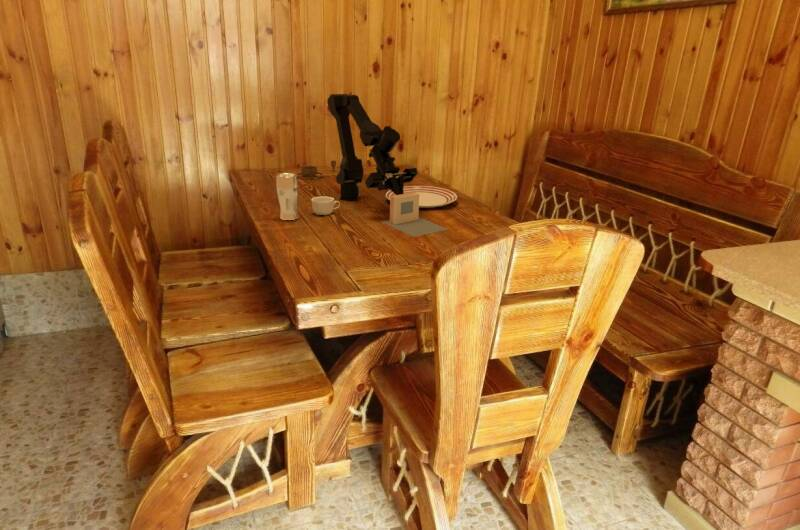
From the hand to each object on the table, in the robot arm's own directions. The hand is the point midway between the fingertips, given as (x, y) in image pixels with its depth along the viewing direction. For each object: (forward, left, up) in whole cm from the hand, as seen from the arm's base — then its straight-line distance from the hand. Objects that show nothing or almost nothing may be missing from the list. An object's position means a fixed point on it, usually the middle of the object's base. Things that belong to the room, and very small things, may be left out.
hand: (402, 198), depth 180 cm
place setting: (-44, +61, -9) cm, 76 cm away
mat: (+5, -6, -8) cm, 11 cm away
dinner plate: (+5, +26, -8) cm, 28 cm away
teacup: (-27, +4, -8) cm, 29 cm away
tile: (+1, -1, -7) cm, 8 cm away
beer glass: (-38, -4, -8) cm, 39 cm away
